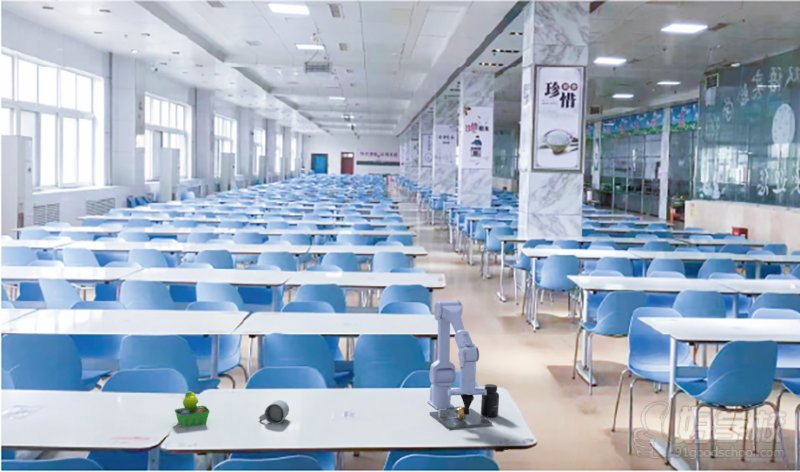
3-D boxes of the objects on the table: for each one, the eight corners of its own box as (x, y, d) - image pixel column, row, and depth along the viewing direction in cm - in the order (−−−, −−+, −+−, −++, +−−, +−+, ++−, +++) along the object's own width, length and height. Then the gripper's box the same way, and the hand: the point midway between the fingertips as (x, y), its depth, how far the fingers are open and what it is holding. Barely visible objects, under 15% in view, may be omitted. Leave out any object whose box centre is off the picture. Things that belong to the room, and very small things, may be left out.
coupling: (454, 410, 302) (454, 399, 301) (466, 410, 301) (467, 400, 301) (455, 418, 291) (455, 408, 291) (467, 419, 291) (468, 409, 290)
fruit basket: (178, 429, 279) (178, 398, 278) (173, 421, 287) (173, 391, 286) (210, 424, 285) (210, 394, 284) (204, 417, 293) (204, 388, 291)
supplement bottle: (497, 419, 302) (498, 388, 301) (479, 417, 303) (481, 387, 302) (498, 413, 309) (500, 384, 307) (481, 411, 310) (482, 382, 309)
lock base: (429, 414, 304) (430, 404, 304) (471, 410, 311) (471, 401, 311) (448, 429, 288) (449, 419, 287) (492, 425, 294) (492, 415, 294)
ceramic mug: (290, 418, 295) (290, 398, 294) (284, 425, 287) (284, 404, 286) (262, 416, 296) (262, 396, 296) (256, 423, 288) (256, 403, 287)
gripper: (451, 381, 285) (450, 417, 287) (489, 380, 288) (488, 416, 289) (446, 376, 292) (445, 411, 294) (484, 375, 295) (482, 410, 296)
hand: (466, 413), depth 292 cm, fingers closed, pressing on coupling
